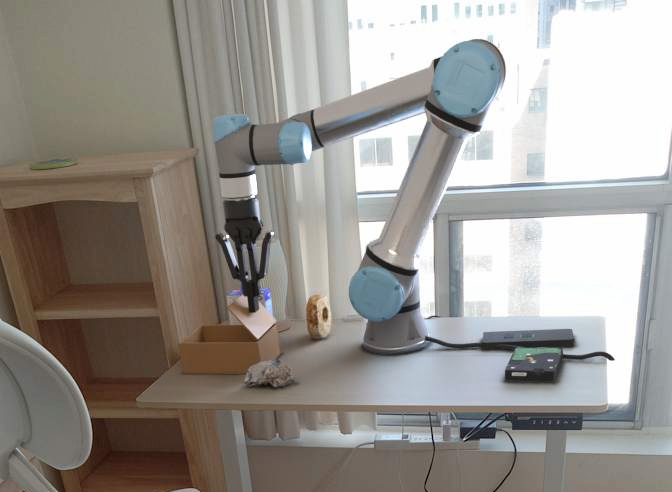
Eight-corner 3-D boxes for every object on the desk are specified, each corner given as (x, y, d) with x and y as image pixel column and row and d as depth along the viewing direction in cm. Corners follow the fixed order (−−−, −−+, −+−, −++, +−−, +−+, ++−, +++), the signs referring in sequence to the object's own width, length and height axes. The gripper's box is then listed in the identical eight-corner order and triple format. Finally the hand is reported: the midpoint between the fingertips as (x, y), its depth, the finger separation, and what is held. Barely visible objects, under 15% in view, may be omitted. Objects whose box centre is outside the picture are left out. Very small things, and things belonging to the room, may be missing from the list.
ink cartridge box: (277, 338, 229) (269, 277, 222) (271, 345, 225) (263, 283, 217) (238, 338, 231) (230, 279, 224) (232, 345, 227) (223, 285, 219)
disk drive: (556, 384, 187) (562, 359, 198) (556, 370, 185) (563, 346, 197) (504, 383, 190) (514, 358, 201) (504, 369, 188) (514, 345, 200)
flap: (276, 321, 214) (277, 320, 214) (256, 340, 203) (258, 339, 203) (247, 290, 212) (248, 289, 212) (226, 307, 201) (227, 306, 201)
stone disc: (320, 344, 222) (316, 301, 217) (306, 343, 223) (302, 301, 218) (335, 330, 230) (331, 289, 225) (321, 330, 231) (317, 289, 226)
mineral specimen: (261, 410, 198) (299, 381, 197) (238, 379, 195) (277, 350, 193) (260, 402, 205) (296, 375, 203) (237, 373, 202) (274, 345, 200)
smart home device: (483, 331, 214) (572, 327, 211) (483, 338, 215) (571, 335, 212) (482, 342, 207) (574, 338, 204) (482, 349, 208) (573, 346, 205)
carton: (280, 353, 218) (277, 324, 215) (261, 373, 207) (257, 342, 203) (205, 353, 223) (201, 324, 219) (183, 373, 212) (178, 343, 208)
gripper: (275, 193, 196) (286, 305, 208) (217, 195, 199) (232, 306, 212) (263, 199, 190) (276, 315, 202) (204, 202, 193) (221, 315, 206)
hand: (254, 310), depth 207 cm, fingers closed
